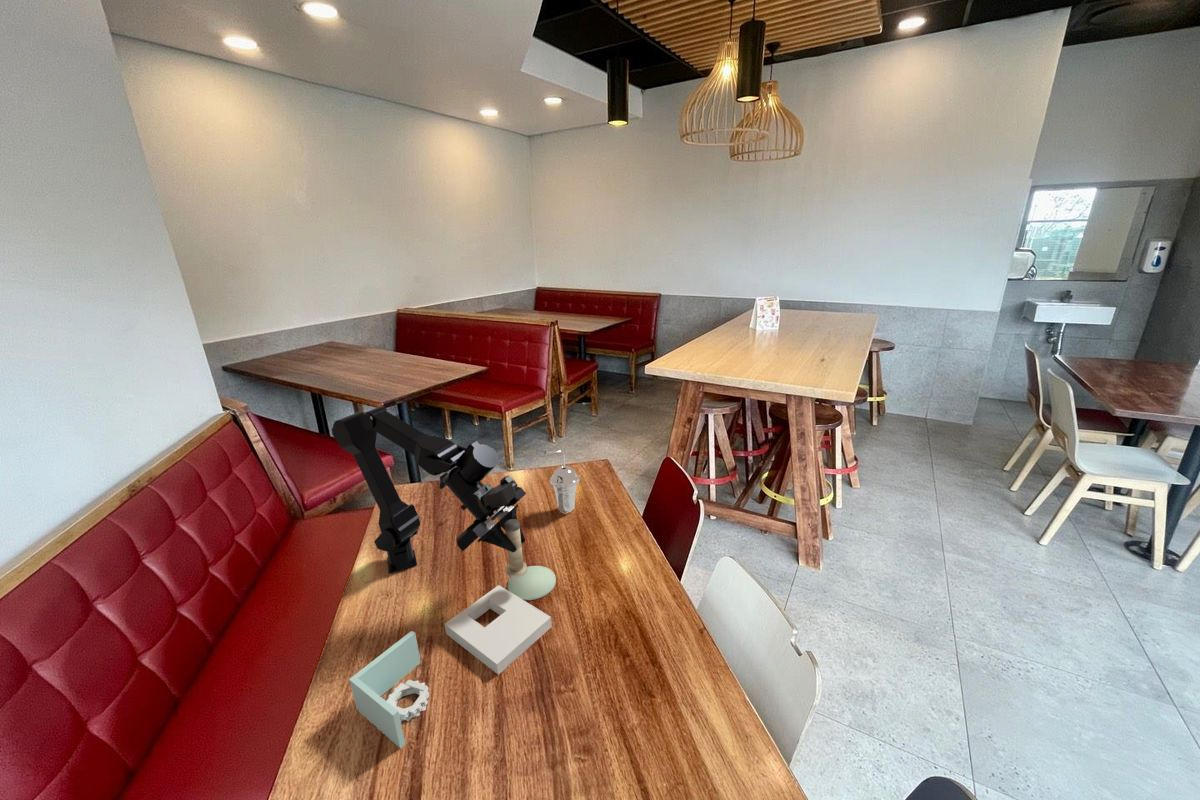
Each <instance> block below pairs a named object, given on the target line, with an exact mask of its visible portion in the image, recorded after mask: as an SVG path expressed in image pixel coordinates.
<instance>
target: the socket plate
mask: <svg viewBox="0 0 1200 800" xmlns="http://www.w3.org/2000/svg"><path fill="white" fill-rule="evenodd" d="M489 610H491V611H493V612H494V613H496V614H497V615H499V616H497V617H496V618H495V619H494V620H492V621H491V622H490V623H489V624H487V625H486V626H485V627H484V626H483V625H482V624H481V623H479V622H478V621H476V620H477V619H479V618H480V617H481V616H482V615H483V614H486V613H487V611H489ZM552 627H553V626H552V616H550V615H549V614H548V613H545V612H544V611H542V610H540V609H539V608H537V607H536V606H534V605H532V604H530V603H529V602H527V600H522V599H521V598H519V597H518V596H516V595H514V594H513V593H511V592H509V590H508V589H506V588H504V587H503V586H501V585H500V584H497V586H495V587H494V588H493V589H491V590H490V591H488V592H487V593H486V594H485V595H483V596H481V597H480V598H479V599H477V600H476V601H475V602H473V603H472V604H470V605H468V606H467V607H466V608H464V609H463V610H461V612H459V613H458V614H457V615H455V616H453V617H452V618H451V619H449V620H448V621H447V622H445V623H444V628H445V633H446V635H447V636H448V637H450V638H451V639H452V640H453V641H455V642H456V643H457V644H459V645H460V646H461V647H463V649H465V650H466V651H467V652H469V653H470V654H471V655H472V656H474V657H475V658H476V659H478V660H479V661H480V662H482V663H483V664H484V665H485V666H486V667H488V668H489V669H491V670H492V671H493V673H495V674H497V675H498V676H499V675H500V674H501V673H502V672H504V671H505V669H507V668H508V667H509V666H510V665H511V664H512V663H513V662H514V661H516V660H517V659H518V658H519V657H520V656H521V655H522V654H523V653H525V652H526V651H527V650H528V649H529V648H530V647H531V646H532V645H533V644H534V643H536V642H537V641H538V640H539V639H540V638H541V637H542V636H543V635H545V633H546V632H548V631H549V630H550V629H551V628H552Z"/></svg>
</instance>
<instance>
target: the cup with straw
mask: <svg viewBox="0 0 1200 800" xmlns="http://www.w3.org/2000/svg"><path fill="white" fill-rule="evenodd" d="M544 454H561V461H562V466H559V467H558V468H556V469H555V470H554V472H553V474H552V475H551V476H550V478H549V483H550V485H551V486H553V487H552V488H553V491H554V494H555V499H556V504H557V508H558V511H559V510H560V511H561V512H564V513H568V512H571V511H572V510H573V509H574V510H575V503H576V492H577V491H576V490H577V486H578V483H579V482H580V476H579V475H578V473H576V470H574V469H573V468H572V467H571V466H567V465H566V455H565V451H564V450H545V451H544Z"/></svg>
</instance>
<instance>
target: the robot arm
mask: <svg viewBox="0 0 1200 800" xmlns="http://www.w3.org/2000/svg"><path fill="white" fill-rule="evenodd" d="M331 433H332V436H333V438H334V439H335V440H336V442H337V444H338V445H339V447H340V448H341V449H342V450H344V451H346V452H347V453H349V454H351V455H352V456H353V457H354V459H355V461H356V464H357V466H358V468H359V470H360V472H361V474H362V476H363V478H364V480H365V481H366V484H367V486H368V488H369V491H370V493H371V494H372V497H373V499H374V500H375V503H376V504H377V507H378V509H379V515H378V516H379V517H378V527H379V529H380V532H381V533H380V534H379V535H378V537H377V538H376V539H375V540H374V541H373V543H374V544H375V546H376V549H377V550H381V551H383V552H386V553H387V557H386V561H387V569H388V570H387V571H388V574H393V573H397V572H400V571H403V570H406V569H409V568H412V567H416V566H417V565H418V561H417V557H416V552H415V550H414V549H413V545H412V540H411V539H412V538H413V537H414V536H416V535H417V534H418V531H419V530H420V526H421V520H420V519H421V517H420V515H419V513H418V512H417V510H416V506H415V505H414V504H412V503H411V504H408V503H406V502H404V501H403V500H402V499H401V498H400V495H399V493H398V491H397V489H396V486H395V485H394V483H393V481H392V479H391V476H390V474H389V472H388V470H387V468H386V466H385V464H384V462H383V460H382V456H381V455H380V452H379V451H378V449H377V447H376V446H377V437H378V434H379V435H381V436H383V437H384V438H386V439H387V440H389V441H390V442H392V443H393V444H395V445H397V446H398V447H400V448H402V449H403V450H404V451H407V452H409V453H410V454H411V455H413V457H414V459H415V462H416V464H417V466H419V467H420V468H421V469H422V470H424V471H425V472H426V473H428V475H431V476H434V477H435V476H438V475H440V476H439V489H440V490H443V489H444V488H446V487H448V488H449V490H450V491H451V492H452V493H453V494H454V496H456V498H457V499H458V500H459V501H460V502H461V503H462V505H461V506H460V508H461V510H462V511H463V512H464V511H465V510H466V509H467V510H468V512H470V514H471V515H472V516H473V517H474V518H475V520H473V523H471V524H470V525H469V526H467V528H465V530H464V531H463V532H462V533H461V534H459V536H457V538H456V545H457V547H458V548H459V549H460V550H461V552H464V551H465V550H466V549H467V548H468V547H469V546H470V545H472V544H473V542H475V541H476V540H477V539H478V538H479V539H478V540H477V543H480V542H483V543H487V544H490V545H493V546H496V547H498V548H501V549H504V550H506V551H507V550H508V551H511V552H515V551H516V550H517V548H516V547H515V546H514V544H513V543H512V542H511V540H510V539H509V538H508V537H507V536H506V532H504V531H505V526H504V523H505V522H506V521H508V520H510V519H516V520H518V518H517V509H518V508H519V503H518V502H519V501H520V500H521V499H522V498H524V496H526V495H527V492H526V491H525V490H524V489H523V488H522V487H520V486H518V483H517V482H516V479H513V477H511V476H510V475H505V476H504V477H503V478H501V479H500V480H499V482H500V483H499V484H498V485H497V486H495V487H493V485H491V484H490V483H488V482H487V483H486V484H484V483H483V482H482V480H484V478H486V477H487V476H488V475H489V474H490V472H491V471H493V470H494V469H495V468H496V466H498V464H499V459H500V458H499V454H498V453H497V451H496V450H495V449H494V448H493V447H490V446H489V445H487V444H484V443H483V444H482V443H481V444H480V442H478V440H474V441H473V442H471V443H469V444H468V446H466V447H465V446H461V445H458V444H456V443H454V441H451V440H449V439H447V438H444V437H441V436H433V435H428V434H427V433H424V432H422V431H420V430H419V429H417V428H415V427H414V426H412V425H410V424H409V423H407V422H405V421H403V419H400V418H398V416H395V415H394V414H392V413H390V411H389V410H388V409H387V407H384V406H379V407H376V408H373V409H371V410H368V411H365V412H363V411H357V412H355V413H352V414H349V415H347V416H345V417H341V418H339V419H337V420H335V421H334V422H333V424H332V428H331ZM517 503H518V504H517ZM497 518H498V519H499V520H498V521H497V522H496V523H495V522H494V521H495V520H496V519H497ZM503 530H504V531H503ZM520 536H521V544H523V543H525V542H526V538H525V535H524V534H523V530H522V528H521V527H520ZM508 551H507V552H508Z"/></svg>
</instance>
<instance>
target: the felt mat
mask: <svg viewBox="0 0 1200 800" xmlns="http://www.w3.org/2000/svg"><path fill="white" fill-rule="evenodd" d="M556 583H557V578H556V575H555V573H554V571H553V570H552V569H550V568H549V567H545V566H541V565H530V566H527V572H526V574H525V575H523V576H521V577H519V578H511V577H509V579H508V581H507V590H508V591H509V592H511V593H513V594H514V595H516V596H518V597H519V598H521V599H522V600H524V601H534V600H538V599H541V598H543V597H545V596H547V595H550V594H551V592H552V591H553V590H554V588H555V586H556Z"/></svg>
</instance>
